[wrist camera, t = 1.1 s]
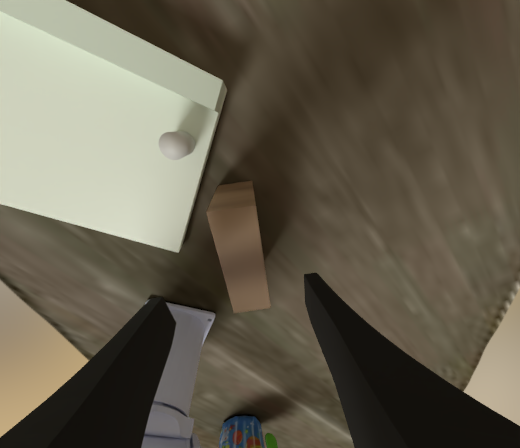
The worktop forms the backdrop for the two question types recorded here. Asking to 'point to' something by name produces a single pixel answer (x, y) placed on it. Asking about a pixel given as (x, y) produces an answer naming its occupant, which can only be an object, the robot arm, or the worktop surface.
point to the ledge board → (100, 124)
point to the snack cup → (244, 434)
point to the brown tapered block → (239, 245)
